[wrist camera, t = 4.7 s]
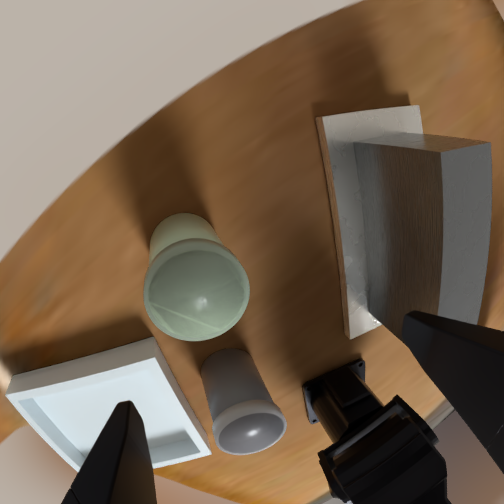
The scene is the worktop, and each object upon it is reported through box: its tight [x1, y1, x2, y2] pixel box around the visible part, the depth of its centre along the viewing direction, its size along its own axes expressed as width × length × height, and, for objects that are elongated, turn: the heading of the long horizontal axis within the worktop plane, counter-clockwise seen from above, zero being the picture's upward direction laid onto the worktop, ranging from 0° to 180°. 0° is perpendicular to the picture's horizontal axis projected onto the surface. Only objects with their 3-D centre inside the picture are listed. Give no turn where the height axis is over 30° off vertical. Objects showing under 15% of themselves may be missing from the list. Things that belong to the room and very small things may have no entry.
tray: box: [5, 336, 212, 472], centre depth 22 cm, size 13×14×2 cm
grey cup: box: [201, 348, 287, 455], centre depth 22 cm, size 5×5×7 cm
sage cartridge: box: [144, 213, 250, 341], centre depth 17 cm, size 5×5×7 cm
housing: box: [315, 105, 492, 347], centre depth 20 cm, size 18×9×9 cm, turn 13°
